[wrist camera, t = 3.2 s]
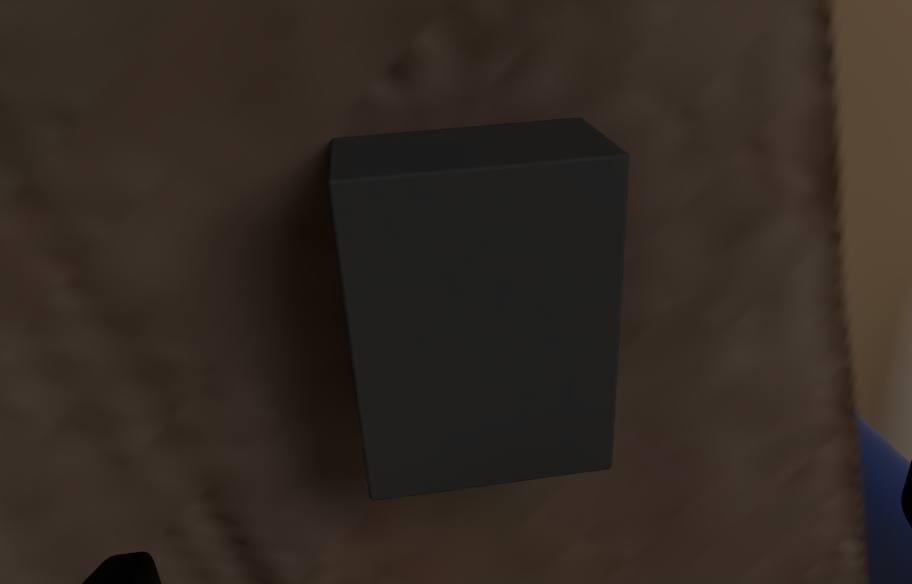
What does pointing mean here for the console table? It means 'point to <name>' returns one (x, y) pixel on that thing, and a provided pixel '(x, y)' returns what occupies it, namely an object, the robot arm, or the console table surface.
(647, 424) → the console table surface
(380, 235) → the black rectangular block
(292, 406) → the console table surface
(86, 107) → the console table surface
